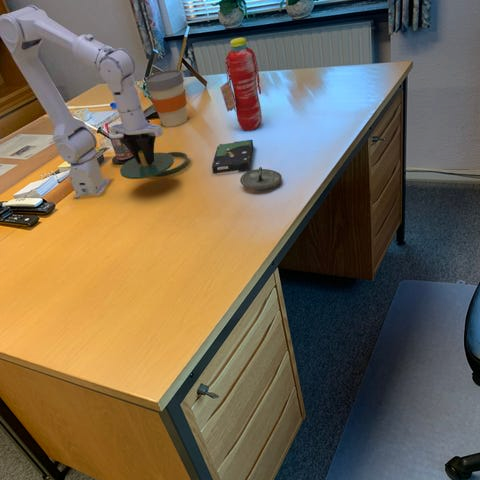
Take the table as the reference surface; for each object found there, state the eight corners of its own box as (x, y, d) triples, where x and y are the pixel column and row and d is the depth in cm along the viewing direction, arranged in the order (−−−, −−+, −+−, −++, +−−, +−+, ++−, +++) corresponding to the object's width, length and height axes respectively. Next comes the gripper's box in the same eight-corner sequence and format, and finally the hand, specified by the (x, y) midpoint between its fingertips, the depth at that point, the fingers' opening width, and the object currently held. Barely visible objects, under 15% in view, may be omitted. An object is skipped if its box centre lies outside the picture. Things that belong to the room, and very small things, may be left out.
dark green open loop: (184, 175, 134) (183, 169, 133) (139, 180, 136) (137, 174, 135) (193, 155, 144) (191, 149, 142) (151, 160, 146) (149, 154, 145)
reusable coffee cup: (197, 121, 166) (186, 74, 156) (162, 131, 163) (149, 84, 153) (186, 111, 175) (175, 67, 165) (153, 122, 172) (140, 77, 163)
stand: (137, 165, 145) (135, 161, 145) (109, 168, 147) (108, 164, 146) (144, 152, 152) (143, 148, 151) (118, 155, 154) (116, 152, 153)
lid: (239, 187, 126) (231, 171, 123) (271, 167, 126) (265, 151, 123) (255, 205, 119) (247, 189, 115) (289, 183, 119) (283, 166, 115)
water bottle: (227, 136, 150) (210, 47, 134) (227, 126, 156) (212, 40, 140) (265, 129, 149) (253, 38, 133) (264, 120, 155) (253, 32, 139)
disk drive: (251, 171, 129) (253, 148, 140) (249, 161, 127) (252, 138, 138) (213, 176, 131) (218, 152, 142) (211, 166, 129) (217, 143, 140)
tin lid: (168, 178, 119) (163, 160, 116) (114, 184, 121) (107, 166, 118) (179, 153, 129) (175, 136, 126) (130, 159, 132) (124, 143, 129)
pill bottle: (131, 159, 146) (120, 126, 139) (114, 161, 147) (102, 128, 141) (137, 151, 150) (127, 119, 144) (121, 153, 152) (110, 121, 145)
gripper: (163, 102, 114) (177, 157, 123) (117, 101, 121) (134, 154, 130) (145, 113, 110) (161, 169, 119) (99, 112, 117) (117, 165, 126)
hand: (146, 162), depth 124 cm, fingers closed on tin lid, 2 cm apart
